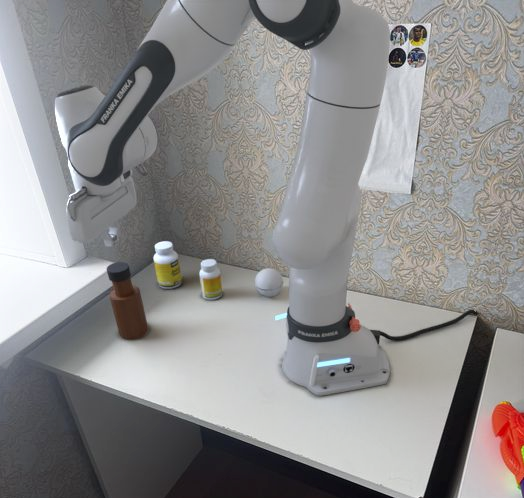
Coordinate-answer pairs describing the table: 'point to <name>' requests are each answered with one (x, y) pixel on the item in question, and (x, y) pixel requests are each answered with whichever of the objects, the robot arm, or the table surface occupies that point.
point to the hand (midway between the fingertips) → (112, 244)
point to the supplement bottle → (210, 280)
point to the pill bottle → (167, 265)
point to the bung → (118, 272)
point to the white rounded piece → (269, 282)
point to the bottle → (128, 310)
